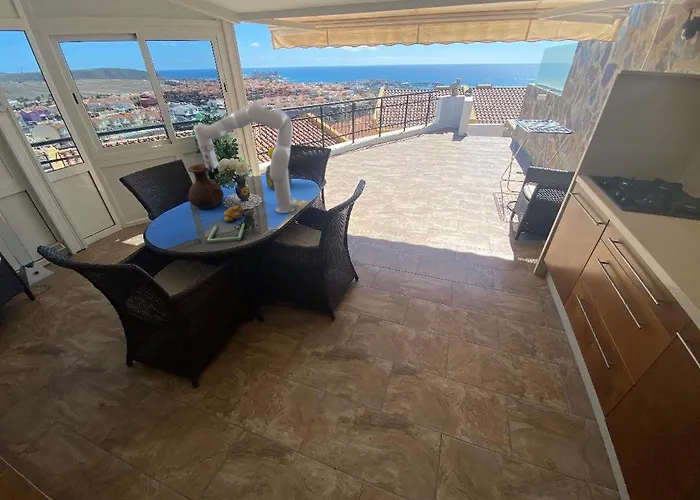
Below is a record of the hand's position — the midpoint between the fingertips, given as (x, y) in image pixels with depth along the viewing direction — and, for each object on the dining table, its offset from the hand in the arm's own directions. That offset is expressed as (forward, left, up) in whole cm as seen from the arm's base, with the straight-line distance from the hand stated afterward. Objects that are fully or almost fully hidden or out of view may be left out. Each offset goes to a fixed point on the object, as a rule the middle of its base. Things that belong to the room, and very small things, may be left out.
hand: (214, 176), depth 177 cm
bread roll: (-7, +10, -25) cm, 27 cm away
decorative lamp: (-33, -42, -25) cm, 59 cm away
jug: (+14, -15, -25) cm, 32 cm away
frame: (-7, +28, -24) cm, 37 cm away
